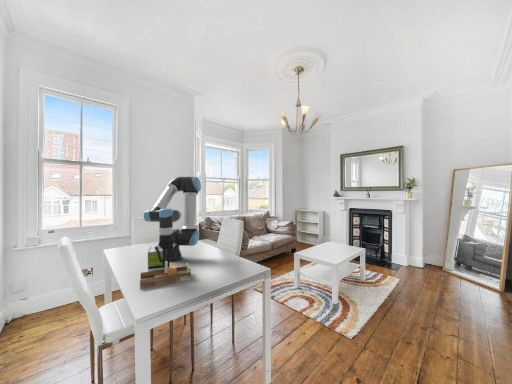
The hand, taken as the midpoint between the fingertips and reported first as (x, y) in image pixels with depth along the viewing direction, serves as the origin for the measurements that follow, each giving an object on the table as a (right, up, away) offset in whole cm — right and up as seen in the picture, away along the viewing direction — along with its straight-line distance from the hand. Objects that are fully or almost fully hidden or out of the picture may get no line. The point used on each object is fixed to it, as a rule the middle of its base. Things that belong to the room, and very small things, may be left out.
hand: (166, 272), depth 133 cm
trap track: (+1, -4, -2) cm, 4 cm away
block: (+3, -1, +1) cm, 3 cm away
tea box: (-12, -4, +14) cm, 19 cm away
